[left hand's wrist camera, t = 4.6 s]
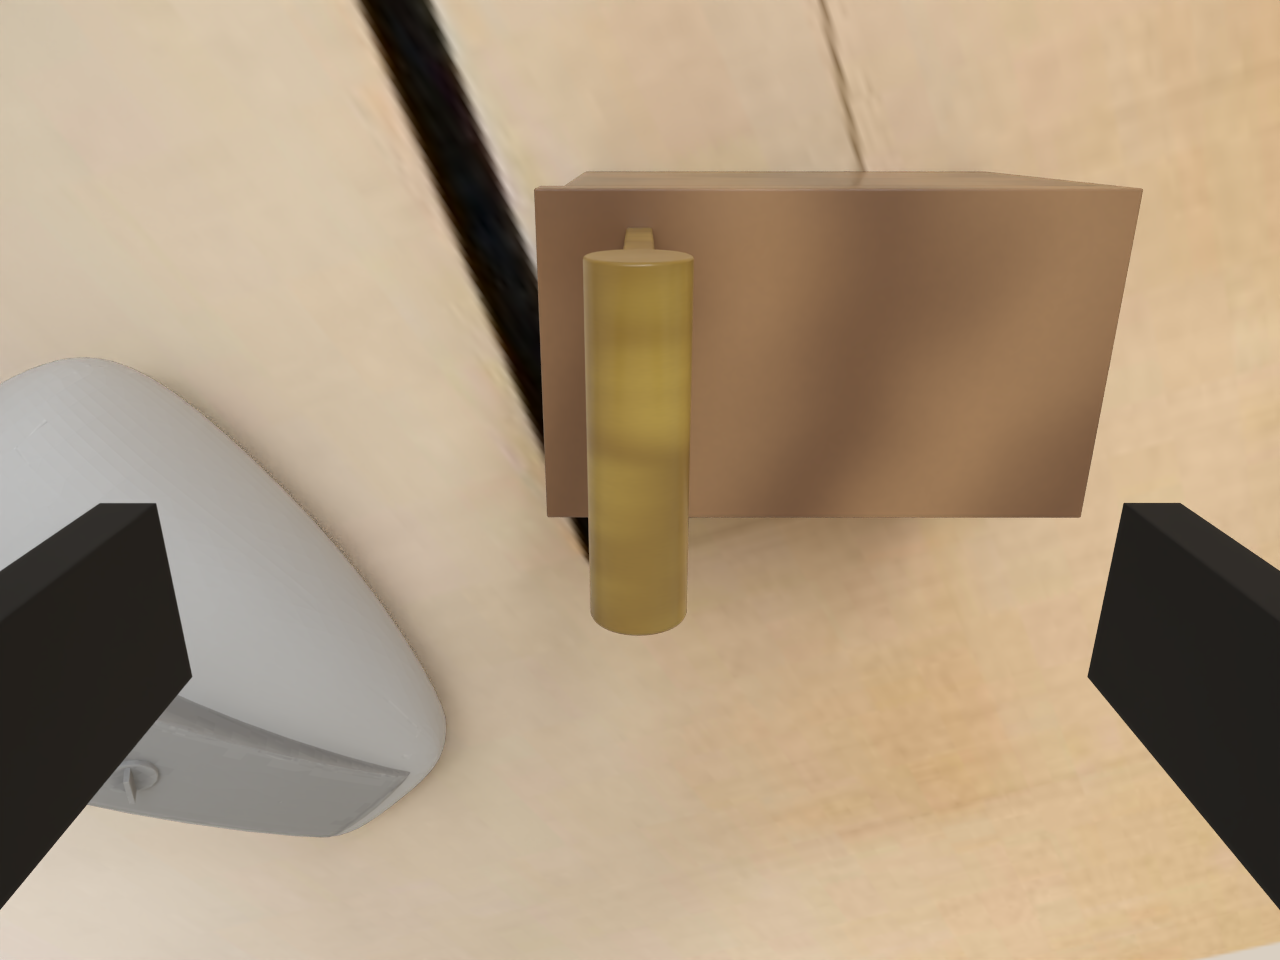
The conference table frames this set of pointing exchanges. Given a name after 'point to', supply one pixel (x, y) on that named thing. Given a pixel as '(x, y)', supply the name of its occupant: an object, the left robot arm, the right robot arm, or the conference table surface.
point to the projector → (226, 613)
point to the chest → (815, 179)
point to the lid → (816, 360)
